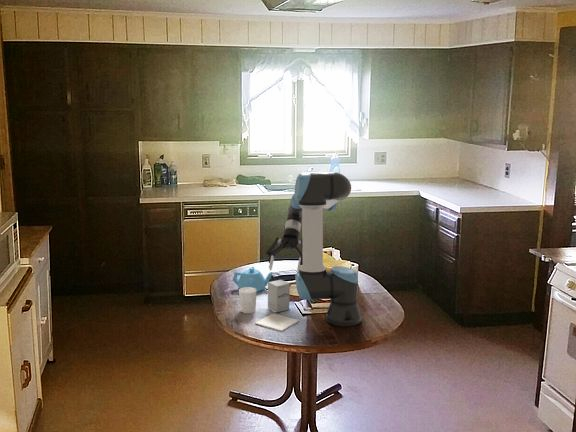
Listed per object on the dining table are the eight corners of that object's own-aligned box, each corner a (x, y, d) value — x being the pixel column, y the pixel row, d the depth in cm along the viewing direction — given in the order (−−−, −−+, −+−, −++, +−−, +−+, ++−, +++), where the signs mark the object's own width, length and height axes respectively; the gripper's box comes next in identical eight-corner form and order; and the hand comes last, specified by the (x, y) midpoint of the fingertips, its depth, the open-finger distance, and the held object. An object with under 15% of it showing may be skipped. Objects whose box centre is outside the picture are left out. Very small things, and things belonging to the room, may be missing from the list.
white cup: (254, 314, 276) (253, 293, 273) (237, 313, 277) (236, 292, 275) (258, 308, 283) (258, 287, 281) (241, 307, 285) (241, 286, 282)
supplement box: (276, 313, 278) (276, 286, 275) (267, 308, 283) (267, 281, 281) (289, 309, 282) (290, 283, 279) (280, 304, 288) (280, 278, 285)
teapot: (254, 281, 320) (253, 261, 317) (273, 289, 309) (273, 268, 307) (230, 288, 309) (230, 268, 307) (250, 296, 299) (249, 275, 296)
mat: (298, 321, 268) (299, 320, 268) (281, 331, 257) (281, 330, 257) (272, 314, 275) (272, 313, 275) (255, 324, 265) (254, 322, 265)
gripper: (318, 236, 300) (311, 275, 289) (268, 233, 306) (260, 271, 295) (316, 228, 294) (309, 268, 283) (265, 225, 300) (256, 264, 289)
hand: (284, 270), depth 289 cm, fingers open, 13 cm apart
